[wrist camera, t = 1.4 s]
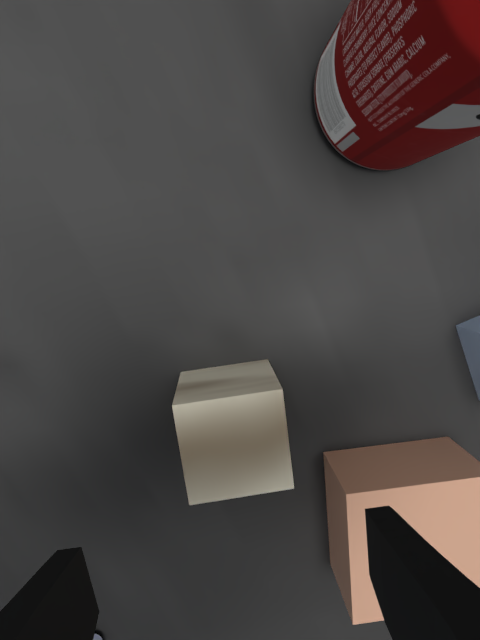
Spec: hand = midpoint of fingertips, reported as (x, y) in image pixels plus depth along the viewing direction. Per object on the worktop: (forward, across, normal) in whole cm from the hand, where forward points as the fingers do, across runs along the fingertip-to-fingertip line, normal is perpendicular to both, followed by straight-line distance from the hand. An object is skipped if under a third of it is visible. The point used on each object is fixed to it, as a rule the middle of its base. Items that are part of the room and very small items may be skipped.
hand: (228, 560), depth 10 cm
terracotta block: (+11, -8, +8) cm, 16 cm away
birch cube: (+11, 0, +1) cm, 11 cm away
